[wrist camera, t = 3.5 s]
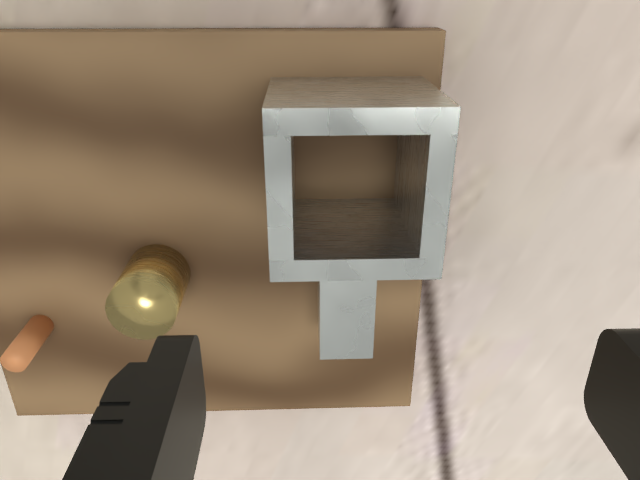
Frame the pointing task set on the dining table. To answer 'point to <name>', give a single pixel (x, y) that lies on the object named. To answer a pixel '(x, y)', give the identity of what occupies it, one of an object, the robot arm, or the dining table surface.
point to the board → (186, 207)
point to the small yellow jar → (148, 292)
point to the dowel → (27, 343)
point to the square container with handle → (358, 214)
